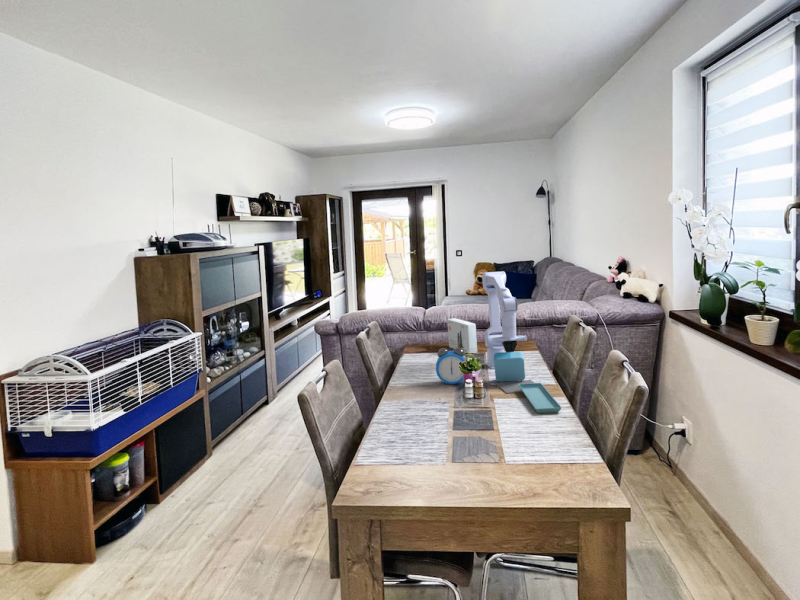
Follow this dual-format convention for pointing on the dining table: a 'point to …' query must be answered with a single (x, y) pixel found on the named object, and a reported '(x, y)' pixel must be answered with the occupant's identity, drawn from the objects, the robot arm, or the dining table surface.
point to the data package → (509, 366)
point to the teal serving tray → (540, 398)
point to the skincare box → (462, 335)
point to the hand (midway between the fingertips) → (509, 358)
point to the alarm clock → (450, 365)
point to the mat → (512, 386)
